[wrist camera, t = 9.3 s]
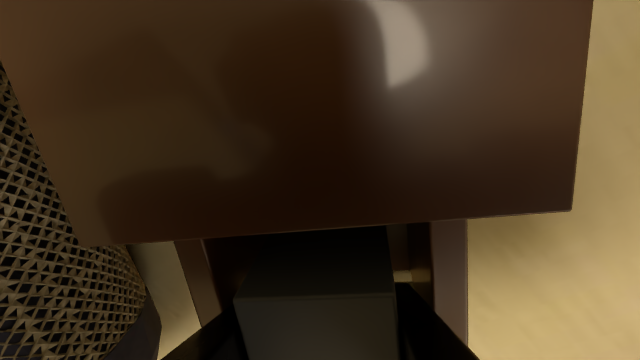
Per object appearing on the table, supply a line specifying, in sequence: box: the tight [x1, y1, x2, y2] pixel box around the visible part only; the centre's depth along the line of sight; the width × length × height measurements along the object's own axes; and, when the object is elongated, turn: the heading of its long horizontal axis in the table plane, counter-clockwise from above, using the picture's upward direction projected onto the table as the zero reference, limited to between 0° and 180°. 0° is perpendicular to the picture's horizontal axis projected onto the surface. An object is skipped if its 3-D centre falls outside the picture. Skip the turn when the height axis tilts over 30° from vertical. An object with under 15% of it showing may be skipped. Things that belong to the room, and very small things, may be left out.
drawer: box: [174, 219, 468, 346], centre depth 11 cm, size 12×8×6 cm
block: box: [233, 225, 402, 360], centre depth 9 cm, size 4×4×4 cm
